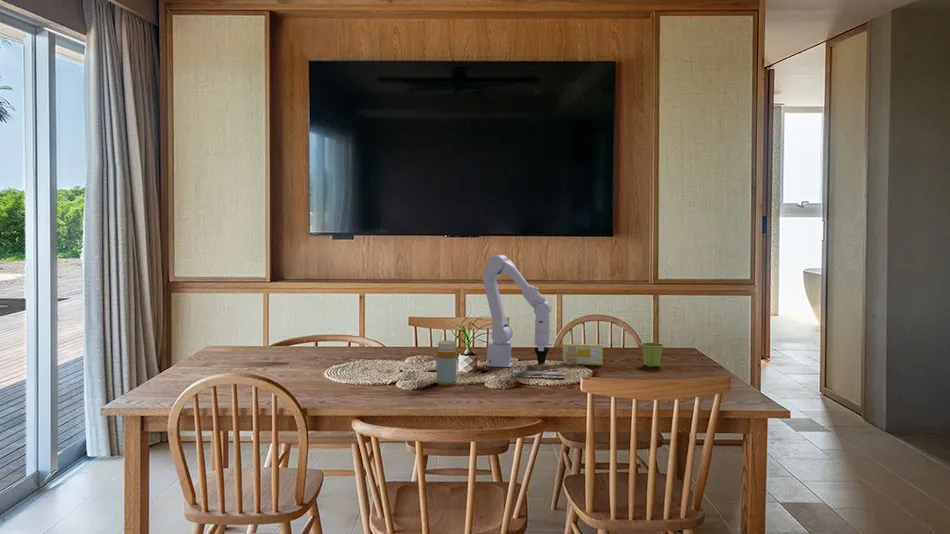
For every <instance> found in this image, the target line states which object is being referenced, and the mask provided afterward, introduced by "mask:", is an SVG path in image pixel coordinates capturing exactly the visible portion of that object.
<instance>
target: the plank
mask: <svg viewBox="0 0 950 534" xmlns="http://www.w3.org/2000/svg"><path fill="white" fill-rule="evenodd" d="M556 368H557V369H558V364H557V363H555V362H552V361H551V362H549V361H548V362H545V363H541V364H538V363H535V364H527V365H526V370H527V371H543V370H550V369H556Z"/></svg>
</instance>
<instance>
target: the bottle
mask: <svg viewBox="0 0 950 534" xmlns="http://www.w3.org/2000/svg"><path fill="white" fill-rule="evenodd" d="M456 343H457V342H456V341H453V340H440V341H438V342H437V353H436V378H435V379H436V383H437V385H438V386H442V387H443V386H444V387H445V386H446V387H447V386H448V387H449V386H450V387H451V386H454V385H455V384H456V383H457V354H456V353H457V352H456Z"/></svg>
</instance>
